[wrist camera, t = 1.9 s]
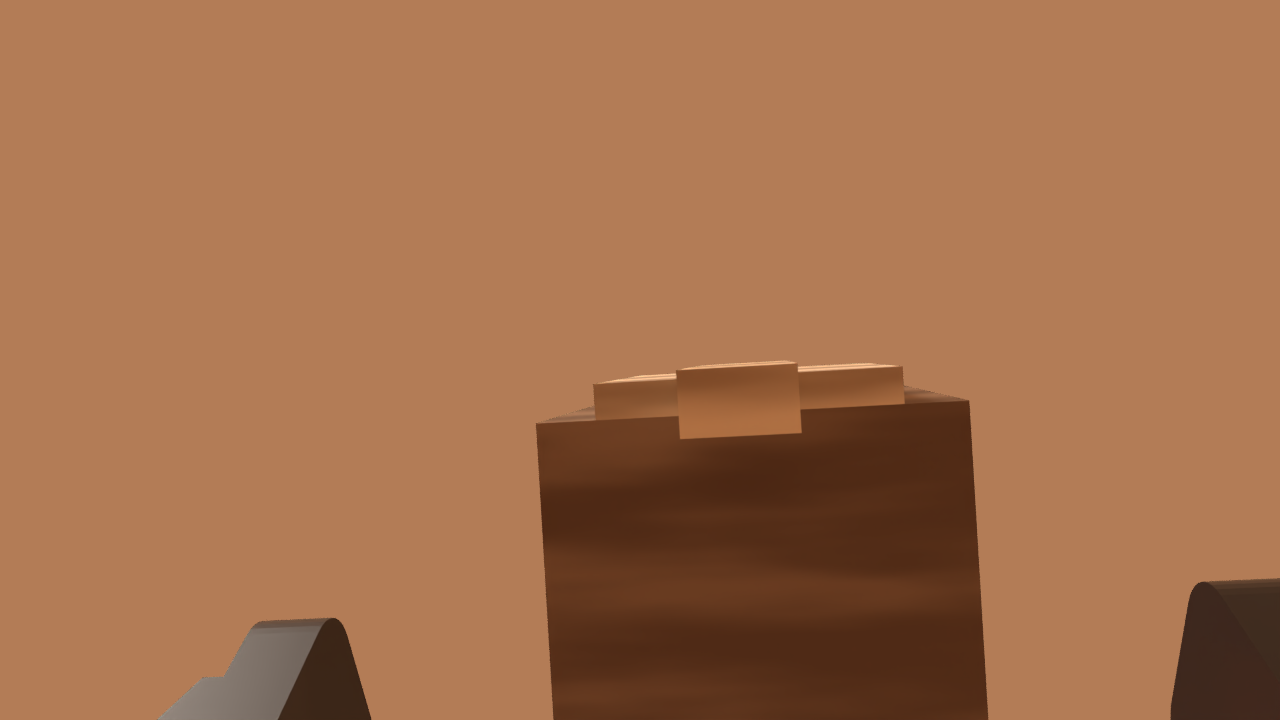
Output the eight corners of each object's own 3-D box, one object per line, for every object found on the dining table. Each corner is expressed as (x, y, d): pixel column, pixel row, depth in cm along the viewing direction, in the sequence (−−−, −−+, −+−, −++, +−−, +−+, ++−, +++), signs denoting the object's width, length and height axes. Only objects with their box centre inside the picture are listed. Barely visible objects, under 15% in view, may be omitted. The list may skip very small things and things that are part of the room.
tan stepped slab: (962, 424, 24) (958, 353, 24) (528, 446, 25) (524, 379, 25) (866, 389, 47) (863, 353, 47) (641, 402, 48) (638, 367, 48)
